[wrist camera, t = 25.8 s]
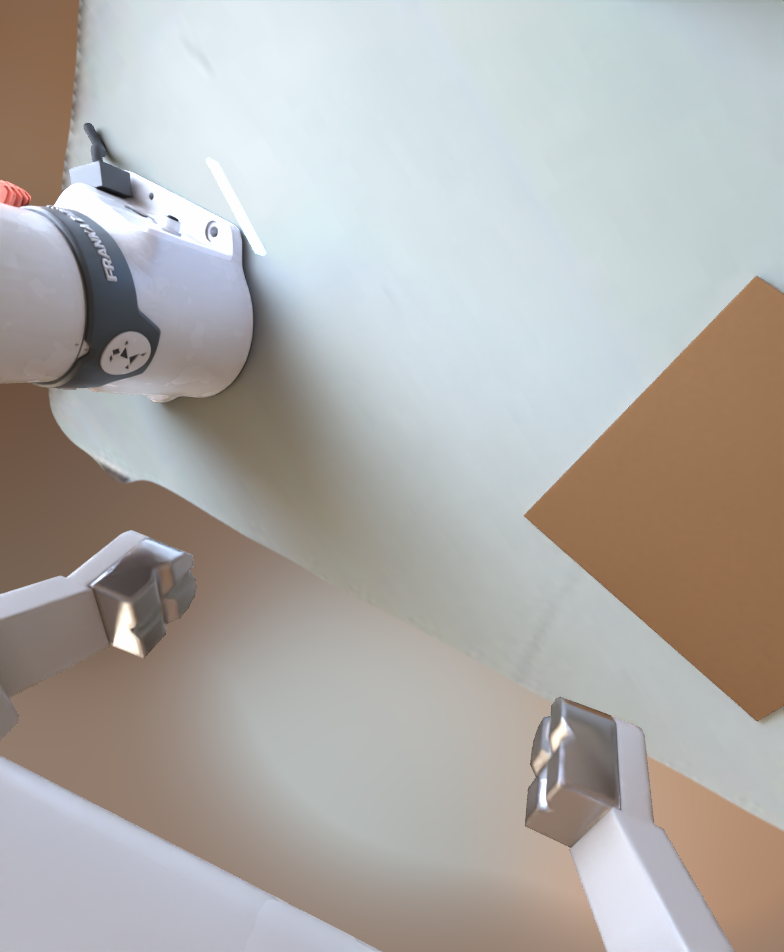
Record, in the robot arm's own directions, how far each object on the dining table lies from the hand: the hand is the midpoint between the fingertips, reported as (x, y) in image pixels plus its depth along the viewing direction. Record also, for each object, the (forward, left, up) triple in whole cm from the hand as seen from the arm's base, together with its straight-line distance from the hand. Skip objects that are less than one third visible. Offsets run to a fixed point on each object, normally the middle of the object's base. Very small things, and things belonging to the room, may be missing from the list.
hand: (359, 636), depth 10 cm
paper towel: (+12, +6, -28) cm, 31 cm away
